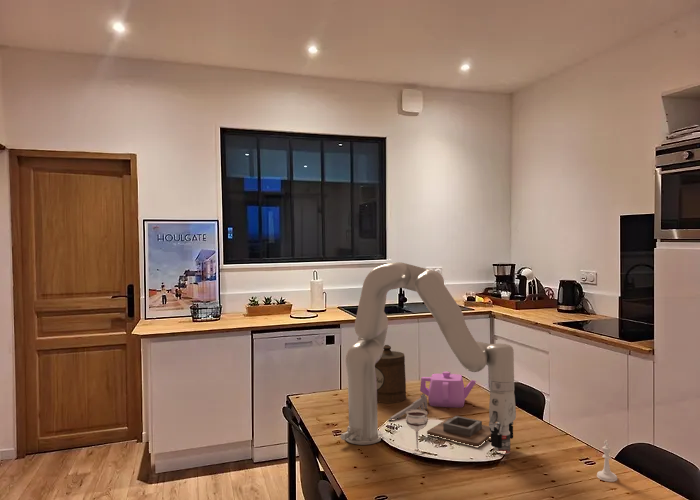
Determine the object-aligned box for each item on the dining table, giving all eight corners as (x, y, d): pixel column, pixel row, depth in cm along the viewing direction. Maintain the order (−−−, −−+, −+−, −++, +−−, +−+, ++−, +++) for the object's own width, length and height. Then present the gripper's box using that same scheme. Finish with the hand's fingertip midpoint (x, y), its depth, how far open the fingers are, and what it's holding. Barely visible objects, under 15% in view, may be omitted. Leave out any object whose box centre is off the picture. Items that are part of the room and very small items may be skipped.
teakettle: (417, 401, 205) (416, 370, 205) (448, 393, 214) (447, 364, 214) (446, 412, 191) (445, 379, 190) (478, 404, 200) (477, 373, 200)
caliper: (425, 408, 196) (424, 392, 196) (427, 409, 195) (427, 393, 195) (388, 421, 182) (387, 404, 182) (390, 422, 182) (389, 405, 181)
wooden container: (366, 394, 216) (365, 342, 216) (400, 391, 219) (399, 340, 218) (374, 404, 201) (373, 349, 201) (410, 401, 204) (409, 347, 204)
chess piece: (610, 473, 138) (610, 436, 138) (621, 481, 133) (620, 443, 133) (593, 473, 138) (592, 437, 138) (602, 482, 133) (602, 444, 133)
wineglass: (431, 449, 156) (431, 411, 156) (423, 457, 150) (422, 417, 150) (411, 445, 160) (410, 407, 160) (402, 453, 154) (401, 414, 154)
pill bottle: (499, 455, 151) (499, 427, 151) (491, 449, 155) (490, 422, 155) (513, 453, 152) (513, 426, 152) (504, 447, 157) (504, 420, 157)
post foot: (478, 448, 157) (477, 435, 156) (427, 435, 168) (426, 423, 168) (498, 432, 169) (498, 420, 169) (449, 421, 180) (449, 410, 180)
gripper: (502, 394, 144) (503, 454, 145) (523, 380, 158) (524, 436, 158) (477, 390, 149) (478, 448, 149) (500, 377, 163) (501, 431, 163)
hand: (502, 441), depth 154 cm, fingers open, 8 cm apart
